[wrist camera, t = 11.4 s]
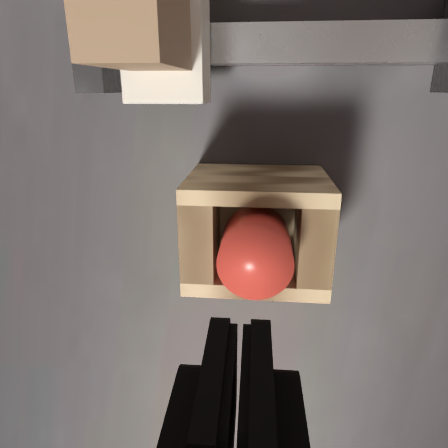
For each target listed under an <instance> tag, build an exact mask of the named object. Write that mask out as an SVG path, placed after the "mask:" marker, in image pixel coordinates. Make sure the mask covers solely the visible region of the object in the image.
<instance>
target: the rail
mask: <svg viewBox="0 0 448 448" xmlns="http://www.w3.org/2000/svg"><path fill="white" fill-rule="evenodd" d="M305 65H434V71H433V77H432V83H431V88H430V92H446V93H448V0H446V2H445V7H444V13H443V19H408V20H344V21H280V22H217V23H210V66H305ZM72 68H73V76H74V84H75V92H76V93H116V92H122V86H121V74H120V70H118V69H111V68H103V67H96V66H88V65H80V64H73V63H72Z"/></svg>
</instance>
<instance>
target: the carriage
mask: <svg viewBox="0 0 448 448" xmlns="http://www.w3.org/2000/svg"><path fill="white" fill-rule="evenodd" d="M64 6H65V14H66V22H67V30H68V38H69V46H70V54H71V62H72V63H73V64H80V65H88V66H96V67H103V68H111V69H118V70H120V74H121V86H122V97H123V104H205V103H208V102H211V89H210V3H209V0H64Z"/></svg>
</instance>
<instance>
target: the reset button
mask: <svg viewBox="0 0 448 448" xmlns="http://www.w3.org/2000/svg"><path fill="white" fill-rule="evenodd" d="M216 267H217V273H218V276H219V278H220V280H221V282H222V283H223V285H224V286H225V287H226V288H227V289H228V290H229V291H230V292H232V293H233V294H235V295H237V296H239V297H242V298H244V299H249V300H263V299H268V298H271V297H273V296H275V295H277V294H279V293H280V292H282V291H283V290H284V289H285V288H286V287H287V286H288V284H289V283H290V281H291V279H292V277H293V274H294V268H295V263H294V257H293V251H292V246H291V241H290V235H289V230H288V226H287V224H286V222H285V220H284V218H283V217H282V216H281V215H280V214H279V213H278V212H277V211H275V210H274V209H272V208H254V207H243V208H241V209H239V210H237V211H236V212H235V213H233V215H232V216H231V217H230V218H229V219H228V221H227V223H226V226H225V229H224V233H223V237H222V240H221V244H220V248H219V252H218V255H217V261H216Z"/></svg>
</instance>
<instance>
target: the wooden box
mask: <svg viewBox="0 0 448 448" xmlns="http://www.w3.org/2000/svg"><path fill="white" fill-rule="evenodd" d="M341 198H342V193H341V192H340V191H339V189H338V188H337V187H336V185H335V184H334V183H333V181H332V180H331V179H330V177H329V176H328V175H327V173H326V172H325V171H324V170H323V168H322V167H321V166H315V165H258V164H200V163H198V165H197V166H196V167H195V168H194V169H193V170H192V172H191V173H190V174H189V175H188V176H187V178H186V179H185V180H184V181H183V182H182V183H181V185H180V186H179V187H178V188H177V189H176V199H177V221H178V244H179V266H180V289H181V296H182V297H202V298H223V299H243V300H249V299H244V298H242V297H239V296H237V295H235V294H233V293H232V292H230V291H229V290H228V289H227V288H226V287H225V286H224V285H223V283H222V282H221V280H220V278H219V276H218V273H217V267H216V261H217V255H218V252H219V248H220V244H221V240H222V237H223V233H224V229H225V226H226V223H227V221H228V219H229V218H230V217H231V216H232V215H233V213H235V212H236V211H237V210H239V209H241V208H243V207H254V208H272V209H274V210H275V211H277V212H278V213H279V214H280V215H281V216H282V217H283V218H284V220H285V222H286V224H287V226H288V230H289V235H290V241H291V246H292V251H293V257H294V263H295V268H294V274H293V277H292V279H291V281H290V283H289V284H288V286H287V287H286V288H285V289H284V290H283V291H282V292H280V293H279V294H277V295H275V296H273V297H271V298H268V299H263V301H284V302H304V303H325V304H330V300H331V290H332V281H333V272H334V263H335V254H336V244H337V235H338V226H339V217H340V207H341Z"/></svg>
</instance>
